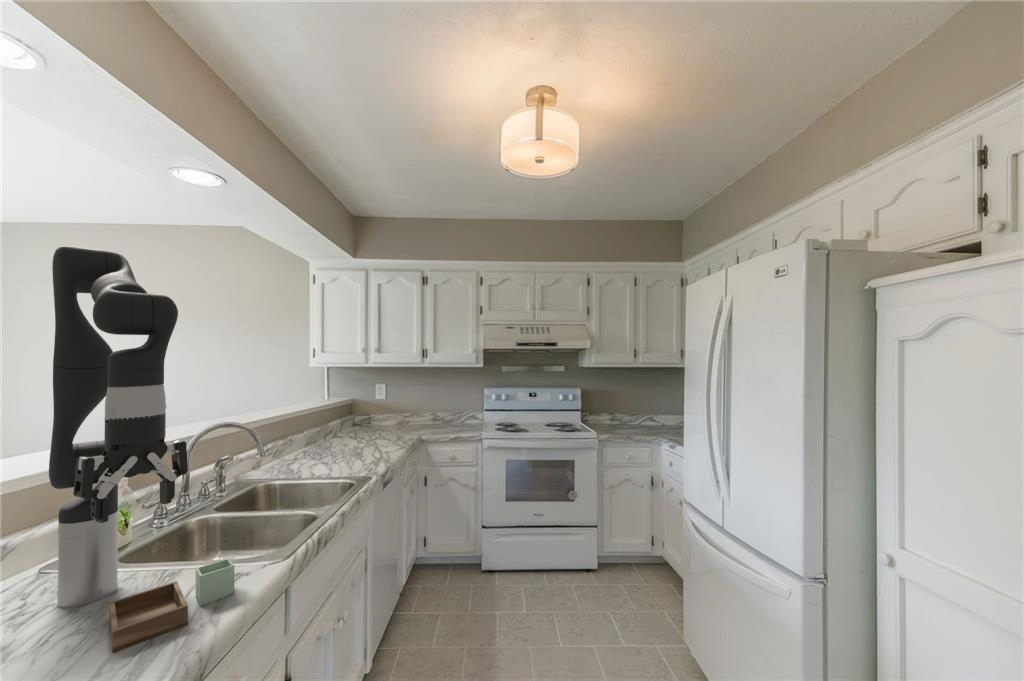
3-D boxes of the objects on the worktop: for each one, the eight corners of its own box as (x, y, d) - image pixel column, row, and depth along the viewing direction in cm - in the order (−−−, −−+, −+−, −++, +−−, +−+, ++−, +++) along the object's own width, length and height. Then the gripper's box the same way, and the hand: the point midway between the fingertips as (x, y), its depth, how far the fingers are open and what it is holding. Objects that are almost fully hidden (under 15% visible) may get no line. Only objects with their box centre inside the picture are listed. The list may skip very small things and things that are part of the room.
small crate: (195, 596, 90) (195, 568, 90) (228, 585, 94) (228, 558, 94) (200, 606, 86) (200, 576, 86) (234, 593, 90) (234, 565, 91)
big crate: (109, 620, 82) (109, 602, 82) (176, 597, 90) (176, 580, 90) (112, 652, 73) (112, 632, 73) (187, 624, 80) (187, 605, 80)
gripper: (172, 406, 78) (171, 495, 77) (66, 418, 65) (64, 525, 64) (197, 408, 75) (196, 500, 74) (90, 420, 62) (89, 532, 61)
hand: (135, 511), depth 69 cm, fingers open, 8 cm apart
